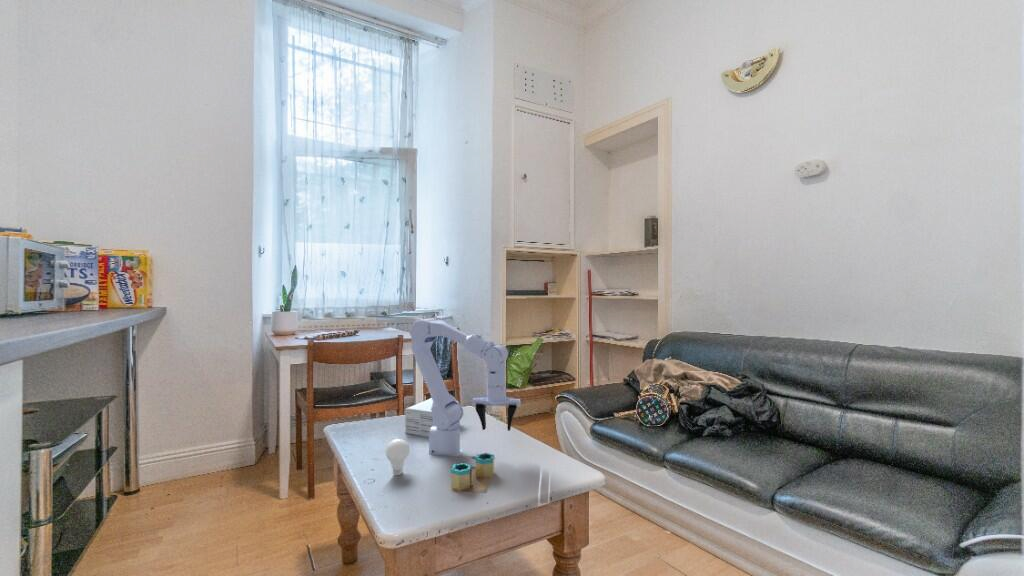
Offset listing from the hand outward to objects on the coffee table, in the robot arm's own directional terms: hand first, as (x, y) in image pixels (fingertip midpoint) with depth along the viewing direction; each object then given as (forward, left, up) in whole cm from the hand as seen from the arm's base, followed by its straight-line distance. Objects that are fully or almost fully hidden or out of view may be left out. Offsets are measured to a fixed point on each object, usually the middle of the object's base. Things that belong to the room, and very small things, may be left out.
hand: (496, 429), depth 133 cm
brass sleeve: (-2, -13, -8) cm, 15 cm away
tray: (-4, -5, -10) cm, 12 cm away
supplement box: (-28, +28, -10) cm, 41 cm away
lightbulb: (-26, -14, -10) cm, 31 cm away
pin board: (-4, -17, -10) cm, 20 cm away
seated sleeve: (-7, -20, -8) cm, 23 cm away
